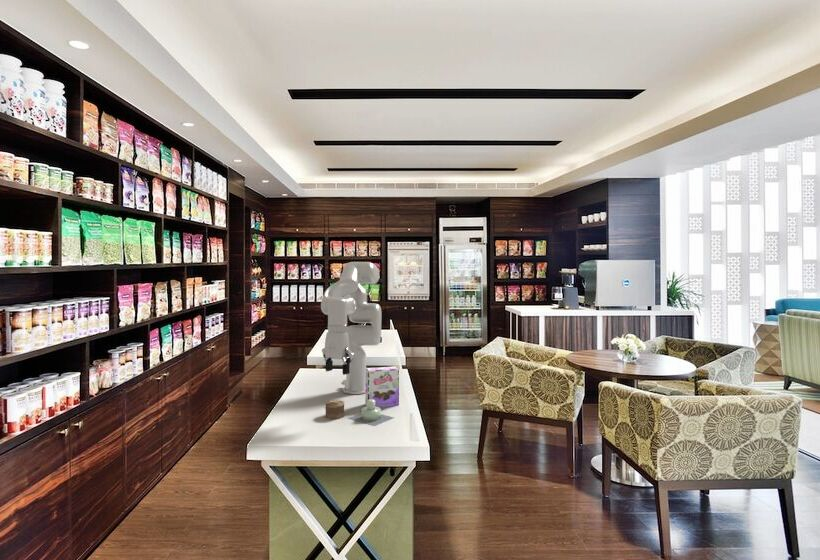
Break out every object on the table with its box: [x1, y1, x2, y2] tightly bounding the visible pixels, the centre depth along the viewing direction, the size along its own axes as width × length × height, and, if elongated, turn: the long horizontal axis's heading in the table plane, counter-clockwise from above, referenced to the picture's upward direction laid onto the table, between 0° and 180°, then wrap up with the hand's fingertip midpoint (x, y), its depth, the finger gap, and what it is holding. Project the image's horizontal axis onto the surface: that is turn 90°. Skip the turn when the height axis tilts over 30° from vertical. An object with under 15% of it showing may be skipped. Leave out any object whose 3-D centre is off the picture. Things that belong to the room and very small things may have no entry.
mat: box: [347, 413, 395, 427], centre depth 183 cm, size 14×12×1 cm
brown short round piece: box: [325, 399, 345, 420], centre depth 185 cm, size 7×7×6 cm
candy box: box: [364, 366, 400, 408], centre depth 200 cm, size 14×6×16 cm, turn 105°
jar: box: [360, 399, 382, 421], centre depth 183 cm, size 8×8×7 cm
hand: (337, 372), depth 185 cm, fingers open, 9 cm apart
